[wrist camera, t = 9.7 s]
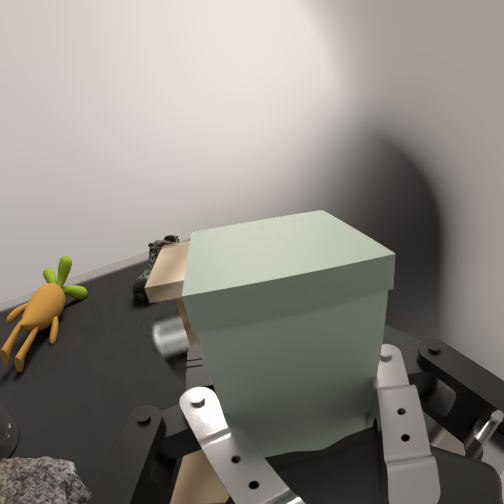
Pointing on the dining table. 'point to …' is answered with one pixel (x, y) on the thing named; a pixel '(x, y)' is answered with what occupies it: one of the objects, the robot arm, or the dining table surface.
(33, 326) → the toy
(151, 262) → the hiking shoe
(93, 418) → the dining table surface
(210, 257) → the tin
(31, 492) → the rock
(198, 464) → the mat
